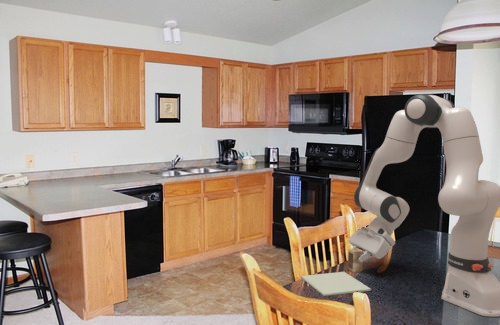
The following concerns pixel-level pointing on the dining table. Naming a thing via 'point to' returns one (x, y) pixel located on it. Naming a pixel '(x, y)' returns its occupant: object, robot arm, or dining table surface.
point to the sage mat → (335, 283)
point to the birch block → (354, 260)
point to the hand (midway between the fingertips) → (355, 258)
